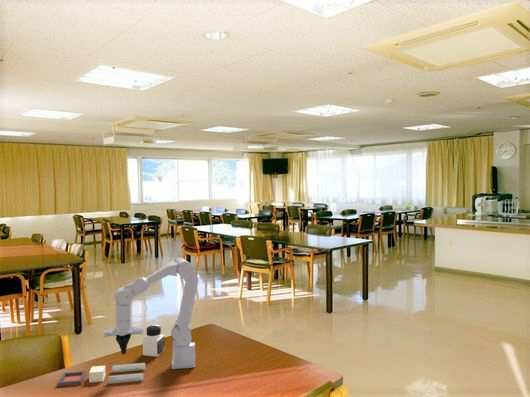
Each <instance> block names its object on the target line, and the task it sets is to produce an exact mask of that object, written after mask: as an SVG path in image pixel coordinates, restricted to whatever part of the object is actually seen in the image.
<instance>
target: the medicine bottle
mask: <svg viewBox="0 0 530 397" xmlns="http://www.w3.org/2000/svg"><path fill="white" fill-rule="evenodd" d="M161 332H162V331H161V325H158V324H152V325H148V326H147V327H146V337H145V338H143V339H142V355H143V356H146V357H156V358H157V357H159V356H160V355H161V354H162V353H164V351H165V350H166V347H165V335H164V334H162V333H161Z"/></svg>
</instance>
